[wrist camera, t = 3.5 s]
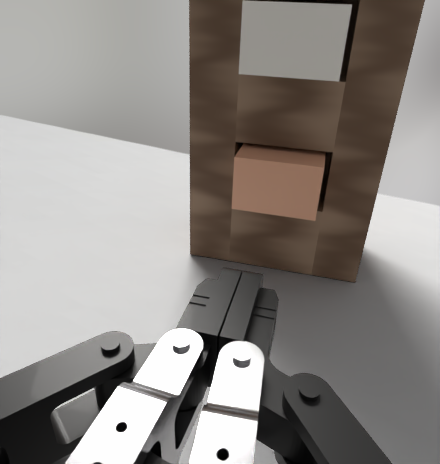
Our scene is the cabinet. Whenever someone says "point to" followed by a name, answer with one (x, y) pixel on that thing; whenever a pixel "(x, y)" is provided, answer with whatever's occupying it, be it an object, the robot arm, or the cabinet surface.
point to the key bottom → (278, 180)
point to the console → (294, 136)
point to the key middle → (293, 39)
